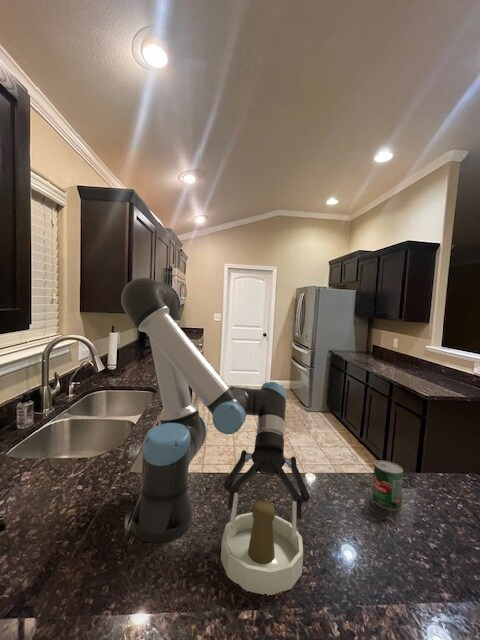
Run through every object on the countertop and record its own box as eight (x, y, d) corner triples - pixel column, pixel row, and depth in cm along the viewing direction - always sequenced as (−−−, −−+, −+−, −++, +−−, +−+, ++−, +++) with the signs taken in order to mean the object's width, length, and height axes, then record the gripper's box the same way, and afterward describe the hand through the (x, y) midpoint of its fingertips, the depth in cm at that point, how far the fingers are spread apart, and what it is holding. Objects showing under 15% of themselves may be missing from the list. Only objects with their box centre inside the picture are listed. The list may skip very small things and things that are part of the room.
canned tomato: (404, 503, 91) (406, 467, 91) (397, 514, 85) (399, 476, 85) (377, 491, 96) (379, 457, 96) (368, 501, 90) (370, 465, 90)
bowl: (213, 584, 59) (214, 562, 59) (230, 525, 76) (231, 507, 76) (303, 602, 56) (305, 578, 56) (299, 536, 74) (300, 518, 74)
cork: (273, 566, 63) (276, 515, 63) (245, 560, 64) (248, 509, 64) (275, 546, 69) (278, 498, 69) (250, 540, 70) (252, 494, 70)
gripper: (316, 448, 80) (319, 545, 65) (225, 437, 84) (209, 526, 69) (319, 435, 75) (323, 538, 60) (223, 424, 78) (204, 519, 63)
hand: (262, 532), depth 64 cm, fingers open, 13 cm apart
